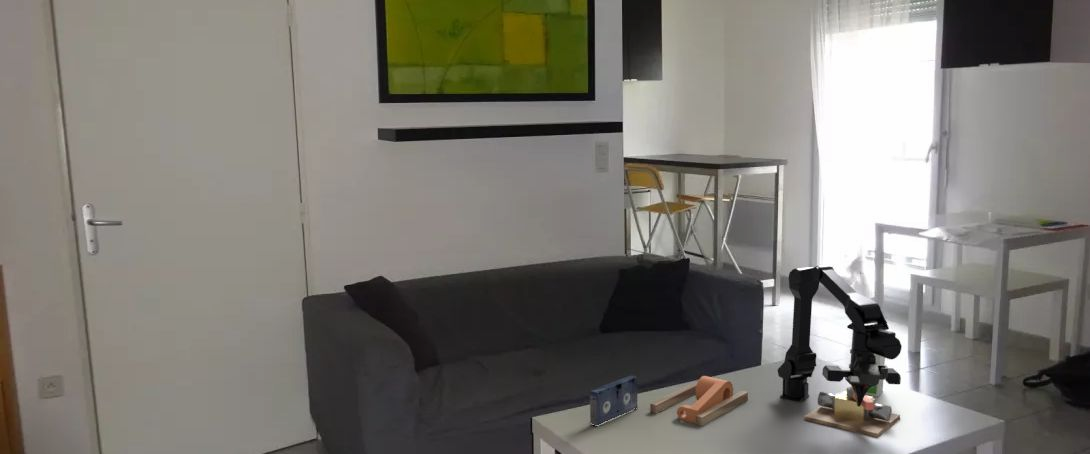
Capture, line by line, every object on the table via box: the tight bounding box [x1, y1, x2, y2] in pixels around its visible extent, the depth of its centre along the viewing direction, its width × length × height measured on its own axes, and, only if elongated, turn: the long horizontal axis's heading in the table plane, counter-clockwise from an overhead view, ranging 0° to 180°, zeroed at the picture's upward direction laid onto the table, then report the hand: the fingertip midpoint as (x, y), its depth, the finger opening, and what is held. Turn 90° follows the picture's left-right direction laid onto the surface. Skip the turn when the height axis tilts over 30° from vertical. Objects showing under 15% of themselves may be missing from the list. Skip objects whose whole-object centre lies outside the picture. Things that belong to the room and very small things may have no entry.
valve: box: [817, 390, 893, 421], centre depth 227 cm, size 19×7×5 cm, turn 48°
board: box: [803, 405, 901, 438], centre depth 227 cm, size 20×17×1 cm
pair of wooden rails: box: [649, 380, 749, 427], centre depth 239 cm, size 17×26×2 cm, turn 138°
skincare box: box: [865, 354, 886, 398], centre depth 248 cm, size 8×7×16 cm
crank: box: [676, 375, 734, 424], centre depth 235 cm, size 20×8×8 cm, turn 139°
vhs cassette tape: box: [589, 374, 638, 425], centre depth 231 cm, size 18×3×10 cm, turn 134°
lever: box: [846, 385, 874, 410], centre depth 222 cm, size 13×4×3 cm, turn 0°
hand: (858, 405), depth 218 cm, fingers closed
